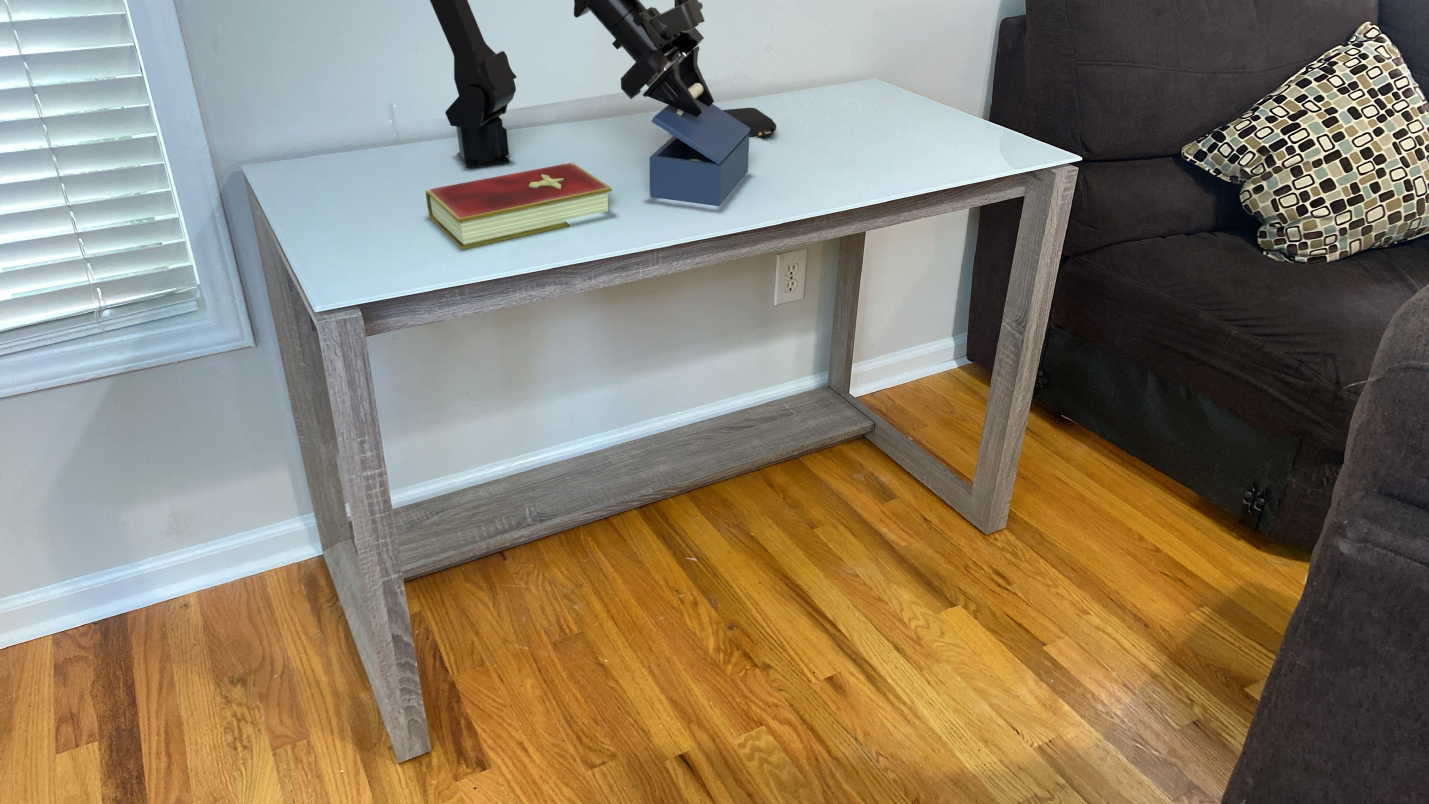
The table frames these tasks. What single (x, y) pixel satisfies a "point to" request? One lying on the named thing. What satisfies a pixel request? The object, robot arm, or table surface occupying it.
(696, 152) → the box
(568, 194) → the hardcover book
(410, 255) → the table surface
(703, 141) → the lunchbox lid
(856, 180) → the table surface
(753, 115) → the carrying case
